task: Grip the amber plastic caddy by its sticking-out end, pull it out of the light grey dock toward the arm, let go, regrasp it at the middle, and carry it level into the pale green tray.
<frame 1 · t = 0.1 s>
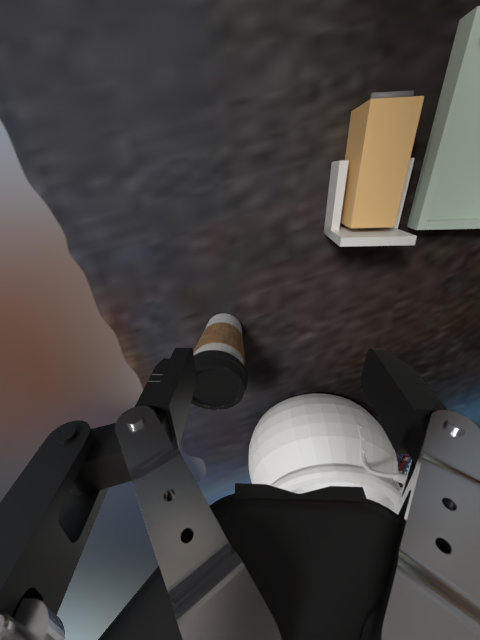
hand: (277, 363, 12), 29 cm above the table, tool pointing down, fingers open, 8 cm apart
coffee cup: (224, 327, 46), on the table
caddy: (363, 170, 34), on the table
woven mat: (421, 462, 61), on the table
pot: (311, 428, 57), on the table
dock: (359, 196, 35), on the table
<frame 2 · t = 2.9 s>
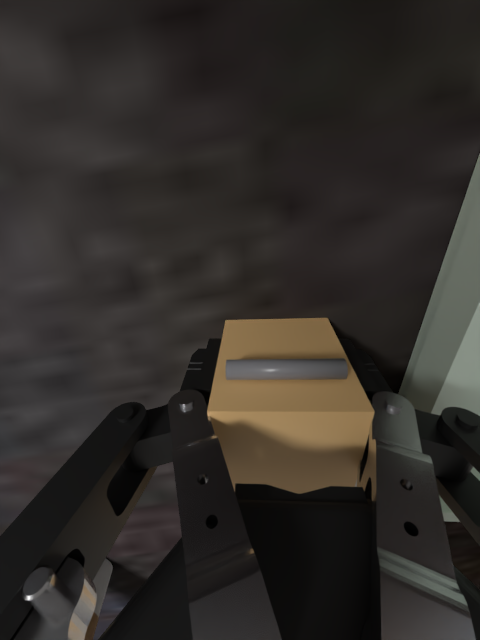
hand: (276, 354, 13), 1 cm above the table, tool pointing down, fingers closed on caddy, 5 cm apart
coffee cup: (86, 560, 28), on the table
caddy: (274, 405, 16), on the table, touching gripper
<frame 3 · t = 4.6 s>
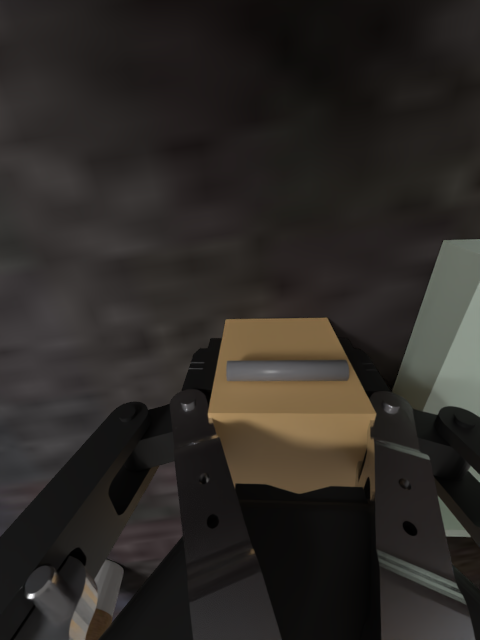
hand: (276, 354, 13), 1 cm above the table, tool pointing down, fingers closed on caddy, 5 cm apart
coffee cup: (98, 565, 31), on the table
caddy: (273, 406, 16), on the table, touching gripper
when the fingers open (1 cm above the table, at t = 6.1 s): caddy stays where it is, on the table.
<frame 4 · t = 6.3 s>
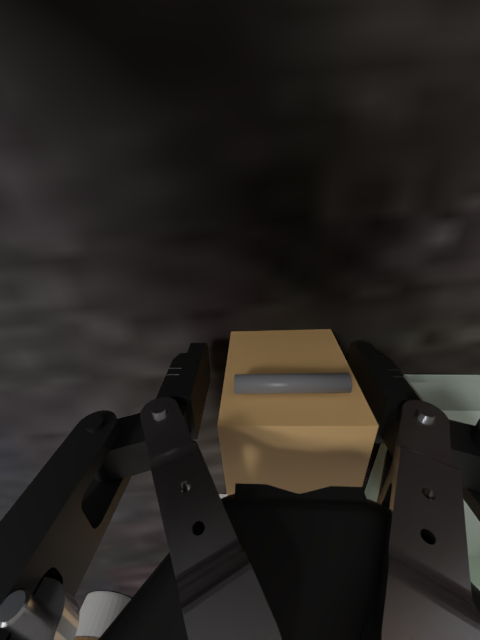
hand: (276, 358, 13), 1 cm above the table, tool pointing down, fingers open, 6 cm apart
coffee cup: (111, 597, 33), on the table
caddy: (278, 412, 16), on the table
tray: (469, 485, 19), on the table
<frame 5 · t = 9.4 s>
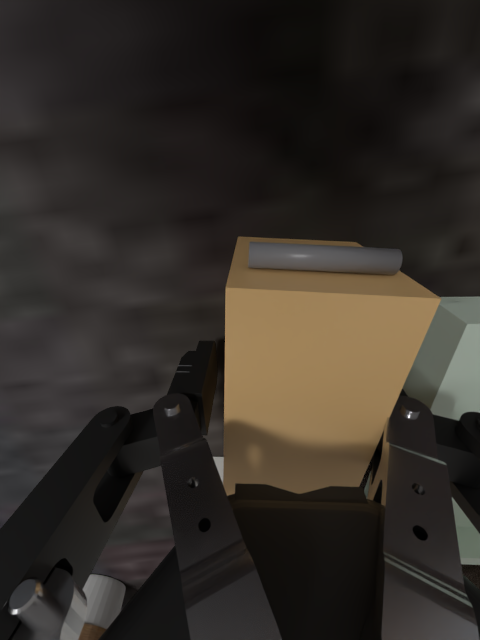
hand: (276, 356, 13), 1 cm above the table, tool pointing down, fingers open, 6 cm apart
coffee cup: (101, 582, 31), on the table
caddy: (280, 352, 14), on the table, touching gripper
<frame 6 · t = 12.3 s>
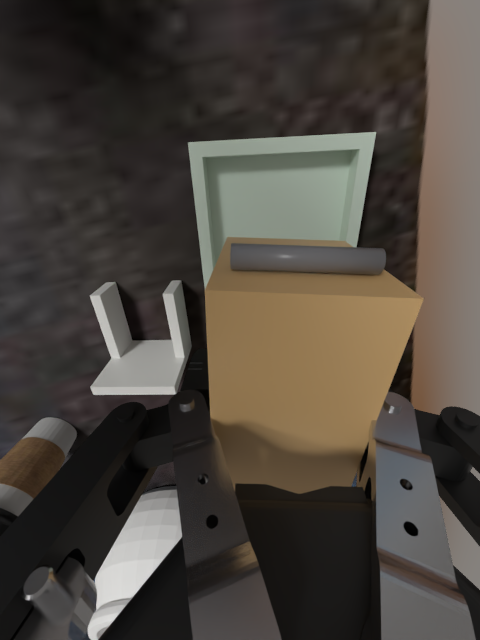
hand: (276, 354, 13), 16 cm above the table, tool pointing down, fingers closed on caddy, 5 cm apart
coffee cup: (58, 429, 42), on the table
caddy: (273, 353, 14), point 15 cm above the table, touching gripper
tray: (274, 258, 27), on the table
pot: (188, 513, 53), on the table
dock: (151, 314, 31), on the table
when the fingers open (3 cm above the table, at t = 15.2 s): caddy drops 2 cm, resting on tray.
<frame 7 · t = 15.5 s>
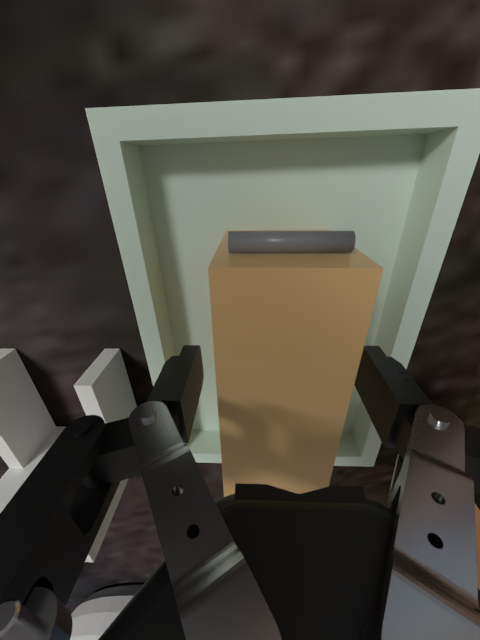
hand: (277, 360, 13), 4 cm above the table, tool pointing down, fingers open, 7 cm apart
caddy: (272, 335, 16), point 1 cm above the table, touching tray
tray: (272, 321, 16), on the table
pot: (159, 608, 41), on the table
dock: (78, 393, 20), on the table
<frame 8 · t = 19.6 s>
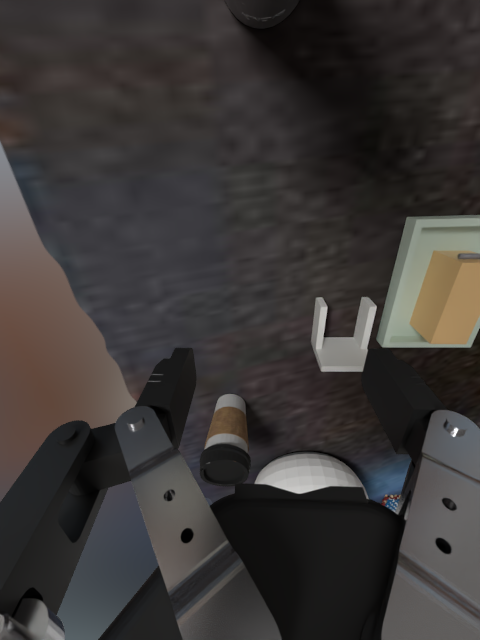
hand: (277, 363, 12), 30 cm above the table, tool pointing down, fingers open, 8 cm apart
coffee cup: (231, 403, 56), on the table
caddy: (437, 289, 41), point 1 cm above the table, touching tray
tray: (436, 284, 41), on the table
woven mat: (398, 502, 71), on the table
pot: (303, 477, 67), on the table
dock: (338, 319, 45), on the table
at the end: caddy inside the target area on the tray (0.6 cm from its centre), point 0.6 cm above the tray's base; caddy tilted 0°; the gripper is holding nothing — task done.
